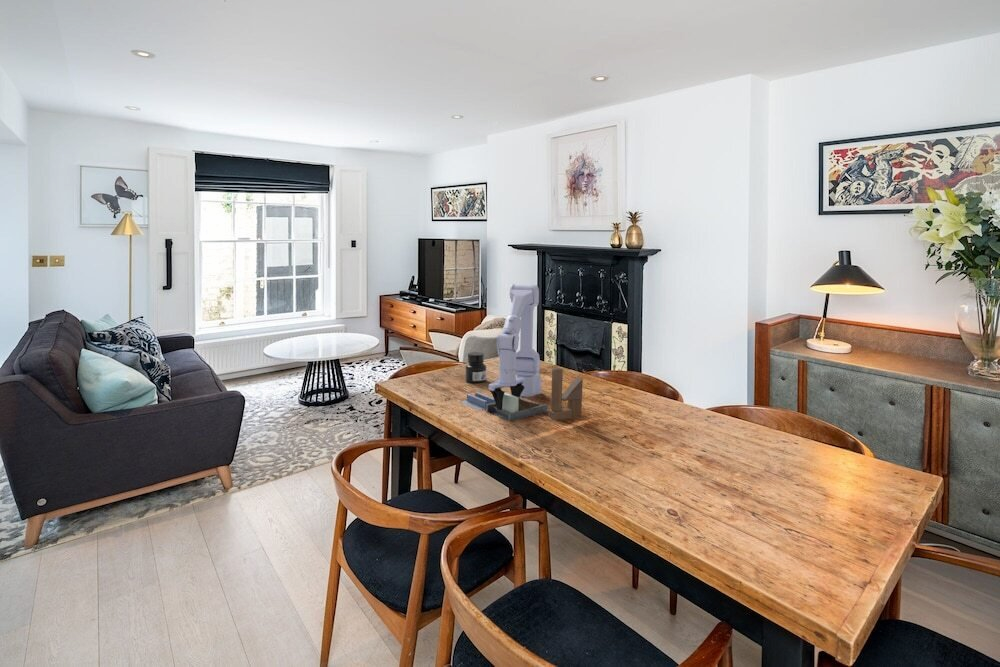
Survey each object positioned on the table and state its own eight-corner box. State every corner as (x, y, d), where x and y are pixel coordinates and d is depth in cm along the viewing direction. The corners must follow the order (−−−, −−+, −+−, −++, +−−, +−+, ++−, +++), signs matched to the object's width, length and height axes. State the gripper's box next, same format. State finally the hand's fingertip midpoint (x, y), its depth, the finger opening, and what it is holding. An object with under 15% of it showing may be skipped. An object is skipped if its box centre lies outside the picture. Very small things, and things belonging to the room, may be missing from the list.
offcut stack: (523, 404, 192) (524, 394, 191) (538, 410, 186) (539, 400, 185) (514, 407, 189) (514, 397, 189) (529, 413, 183) (529, 402, 183)
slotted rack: (523, 405, 195) (523, 395, 195) (547, 414, 185) (547, 404, 185) (486, 414, 185) (486, 404, 184) (510, 424, 175) (510, 414, 174)
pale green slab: (499, 409, 186) (499, 390, 185) (518, 417, 179) (518, 397, 178) (496, 410, 185) (496, 391, 184) (514, 418, 178) (514, 398, 177)
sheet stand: (481, 399, 202) (482, 390, 201) (501, 407, 192) (501, 398, 192) (460, 404, 195) (460, 395, 195) (479, 412, 186) (479, 403, 186)
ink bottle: (476, 385, 221) (476, 357, 219) (460, 381, 227) (460, 354, 224) (491, 380, 229) (491, 353, 227) (475, 377, 234) (475, 350, 232)
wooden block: (581, 419, 181) (583, 367, 177) (553, 423, 177) (554, 370, 173) (576, 415, 184) (577, 365, 181) (548, 419, 180) (549, 368, 177)
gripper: (498, 374, 172) (497, 414, 174) (531, 367, 181) (530, 406, 183) (484, 370, 177) (484, 409, 180) (517, 363, 186) (517, 401, 189)
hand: (507, 407), depth 182 cm, fingers open, 6 cm apart
